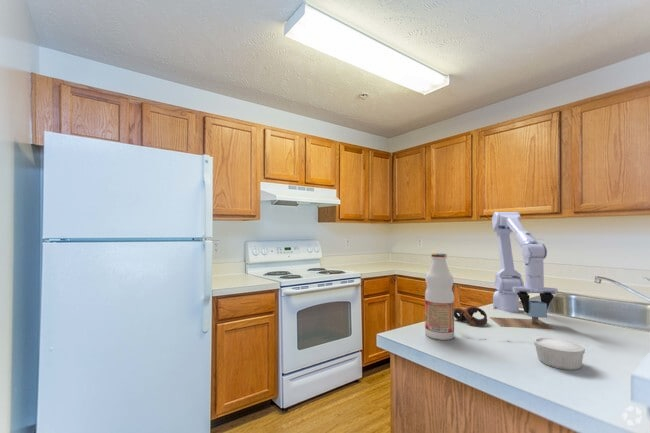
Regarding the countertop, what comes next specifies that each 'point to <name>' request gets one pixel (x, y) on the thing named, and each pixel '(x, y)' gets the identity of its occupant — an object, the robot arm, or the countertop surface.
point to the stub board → (521, 323)
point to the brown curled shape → (470, 316)
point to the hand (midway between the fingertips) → (535, 312)
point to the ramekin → (559, 353)
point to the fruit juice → (439, 300)
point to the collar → (537, 309)
